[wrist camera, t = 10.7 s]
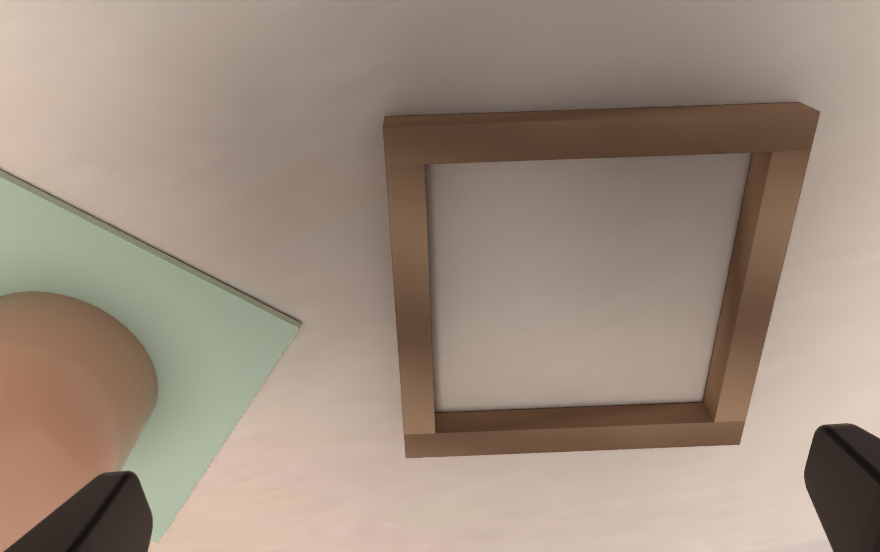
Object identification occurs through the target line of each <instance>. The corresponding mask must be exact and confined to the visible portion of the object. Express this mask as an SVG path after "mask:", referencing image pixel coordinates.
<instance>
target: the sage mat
mask: <svg viewBox="0 0 880 552" xmlns="http://www.w3.org/2000/svg"><path fill="white" fill-rule="evenodd" d="M30 291H36V292H49V293H56V294H62V295H65V296H69V297H73V298H76V299H79V300H81V301H84V302H87V303H89V304H91V305H93V306H95V307H97V308H99V309H101V310H103V311H105V312H106V313H108V314H109V315H111V316H113V317H114V318H115V319H117V320H118V321H119V322H121V323H122V324H123V325H124V326H125V327H127V328H128V329H129V330H130V331H131V332H132V333H133V334H134V335H135V337H136V338H137V339H138V340H139V341H140V343H141V344H142V345H143V347H144V348H145V350H146V351H147V353H148V354H149V356H150V359H151V361H152V363H153V365H154V368H155V372H156V375H157V382H158V396H157V401H156V405H155V408H154V410H153V413H152V415H151V416H150V418H149V420H148V422H147V424H146V426H145V427H144V429H143V431H142V433H141V435H140V437H139V439H138V440H137V442H136V444H135V446H134V448H133V450H132V451H131V453H130V455H129V457H128V459H127V461H126V463H125V464H124V466H123V468H122V470H121V471H132V472H134V473H135V474H136V475H137V476H138V478H139V480H140V483H141V485H142V488H143V491H144V493H145V496H146V499H147V501H148V504H149V507H150V509H151V512H152V517H153V530H152V535H151V539H150V540H151V541H154V542H157V543H158V542H159V541H160V539H161V538H162V536H163V535H164V533H165V532H166V530H167V529H168V527H169V526H170V524H171V523H172V521H173V520H174V518H175V517H176V515H177V513H178V512H179V510H180V509H181V507H182V506H183V504H184V503H185V501H186V500H187V498H188V497H189V495H190V494H191V492H192V491H193V489H194V488H195V486H196V485H197V483H198V482H199V480H200V479H201V477H202V476H203V474H204V473H205V471H206V470H207V468H208V467H209V465H210V464H211V462H212V460H213V459H214V457H215V456H216V454H217V453H218V451H219V450H220V448H221V447H222V445H223V444H224V442H225V441H226V439H227V438H228V436H229V435H230V433H231V432H232V430H233V429H234V427H235V426H236V424H237V423H238V421H239V420H240V418H241V417H242V415H243V414H244V412H245V411H246V409H247V407H248V406H249V404H250V403H251V401H252V400H253V398H254V397H255V395H256V394H257V392H258V391H259V389H260V388H261V386H262V385H263V383H264V382H265V380H266V379H267V377H268V376H269V374H270V373H271V371H272V370H273V368H274V367H275V365H276V364H277V362H278V361H279V359H280V358H281V356H282V354H283V353H284V351H285V350H286V348H287V347H288V345H289V344H290V342H291V341H292V339H293V338H294V336H295V335H296V333H297V332H298V330H299V329H300V326H301V323H300V322H298V321H296V320H294V319H292V318H290V317H288V316H286V315H284V314H282V313H280V312H278V311H276V310H274V309H272V308H270V307H269V306H267V305H265V304H263V303H261V302H259V301H257V300H255V299H253V298H251V297H249V296H247V295H245V294H243V293H241V292H239V291H237V290H235V289H233V288H231V287H229V286H227V285H225V284H223V283H221V282H219V281H217V280H216V279H214V278H212V277H210V276H208V275H206V274H204V273H202V272H200V271H198V270H196V269H194V268H192V267H190V266H188V265H186V264H184V263H182V262H180V261H178V260H176V259H174V258H172V257H170V256H168V255H166V254H164V253H162V252H161V251H159V250H157V249H155V248H153V247H151V246H149V245H147V244H145V243H143V242H141V241H139V240H137V239H135V238H133V237H131V236H129V235H127V234H125V233H123V232H121V231H119V230H117V229H115V228H113V227H111V226H109V225H107V224H106V223H104V222H102V221H100V220H98V219H96V218H94V217H92V216H90V215H88V214H86V213H84V212H82V211H80V210H78V209H76V208H74V207H72V206H70V205H68V204H66V203H64V202H62V201H60V200H58V199H56V198H54V197H53V196H51V195H49V194H47V193H45V192H43V191H41V190H39V189H37V188H35V187H33V186H31V185H29V184H27V183H25V182H23V181H21V180H19V179H17V178H15V177H13V176H11V175H9V174H7V173H5V172H3V171H1V170H0V296H3V295H6V294H11V293H17V292H30Z"/></svg>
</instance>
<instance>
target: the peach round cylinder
mask: <svg viewBox="0 0 880 552" xmlns="http://www.w3.org/2000/svg"><path fill="white" fill-rule="evenodd" d="M157 396H158V382H157V375H156V372H155V368H154V365H153V363H152V361H151V359H150V356H149V354H148V353H147V351H146V350H145V348H144V347H143V345H142V344H141V343H140V341H139V340H138V339H137V338H136V337H135V335H134V334H133V333H132V332H131V331H130V330H129V329H128V328H127V327H125V326H124V325H123V324H122V323H121V322H119V321H118V320H117V319H115V318H114V317H113V316H111V315H109V314H108V313H106V312H105V311H103V310H101V309H99V308H97V307H95V306H93V305H91V304H89V303H87V302H84V301H81V300H79V299H76V298H73V297H69V296H65V295H62V294H56V293H49V292H36V291H30V292H17V293H11V294H6V295H3V296H0V552H3V551H5V550H6V549H7V548H8V547H9V546H11V545H12V544H13V543H14V542H16V541H17V540H18V539H19V538H21V537H22V536H23V535H24V534H26V533H27V532H28V531H29V530H31V529H32V528H33V527H34V526H35V525H37V524H38V523H39V522H40V521H42V520H43V519H44V518H45V517H47V516H48V515H49V514H50V513H52V512H53V511H54V510H55V509H57V508H58V507H59V506H60V505H62V504H63V503H64V502H65V501H66V500H68V499H69V498H70V497H71V496H73V495H74V494H75V493H76V492H78V491H79V490H80V489H81V488H83V487H84V486H85V485H86V484H88V483H89V482H90V481H91V480H92V479H94V478H95V477H96V476H98V475H99V474H101V473H105V472H115V471H121V470H122V468H123V466H124V464H125V463H126V461H127V459H128V457H129V455H130V453H131V451H132V450H133V448H134V446H135V444H136V442H137V440H138V439H139V437H140V435H141V433H142V431H143V429H144V427H145V426H146V424H147V422H148V420H149V418H150V416H151V415H152V413H153V410H154V408H155V405H156V401H157Z"/></svg>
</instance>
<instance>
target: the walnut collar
mask: <svg viewBox="0 0 880 552" xmlns="http://www.w3.org/2000/svg"><path fill="white" fill-rule="evenodd" d="M819 114H820V112H819V111H817V110H815V109H813V108H811V107H809V106H807V105H805V104H803V103H801V102H791V103H762V104H734V105H705V106H676V107H647V108H618V109H589V110H561V111H532V112H503V113H474V114H445V115H417V116H388V117H385V118H384V124H383V135H384V150H385V164H386V179H387V194H388V208H389V223H390V237H391V252H392V266H393V281H394V295H395V310H396V324H397V339H398V353H399V368H400V382H401V397H402V411H403V426H404V440H405V455H406V458H421V457H446V456H471V455H495V454H520V453H545V452H569V451H594V450H618V449H643V448H668V447H692V446H717V445H740V441H741V437H742V432H743V428H744V424H745V420H746V416H747V412H748V408H749V404H750V399H751V395H752V391H753V387H754V383H755V379H756V375H757V371H758V366H759V362H760V358H761V354H762V350H763V346H764V342H765V337H766V333H767V329H768V325H769V321H770V317H771V313H772V309H773V304H774V300H775V296H776V292H777V288H778V284H779V280H780V275H781V271H782V267H783V263H784V259H785V255H786V251H787V247H788V242H789V238H790V234H791V230H792V226H793V222H794V218H795V214H796V209H797V205H798V201H799V197H800V193H801V189H802V185H803V180H804V176H805V172H806V168H807V164H808V160H809V156H810V152H811V147H812V143H813V139H814V135H815V131H816V127H817V123H818V119H819ZM752 152H753V154H752V159H751V164H750V169H749V174H748V179H747V184H746V189H745V194H744V199H743V204H742V209H741V214H740V219H739V224H738V229H737V234H736V239H735V244H734V249H733V254H732V259H731V264H730V269H729V274H728V279H727V284H726V289H725V294H724V299H723V304H722V309H721V314H720V319H719V324H718V329H717V334H716V339H715V344H714V349H713V354H712V359H711V364H710V369H709V374H708V379H707V384H706V389H705V394H704V399H703V402H700V403H675V404H650V405H625V406H599V407H574V408H549V409H524V410H499V411H474V412H449V413H435V410H434V385H433V360H432V334H431V309H430V284H429V259H428V234H427V209H426V184H425V164H442V163H470V162H499V161H527V160H555V159H583V158H611V157H639V156H667V155H696V154H724V153H752Z"/></svg>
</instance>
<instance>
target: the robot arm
mask: <svg viewBox="0 0 880 552" xmlns="http://www.w3.org/2000/svg"><path fill="white" fill-rule="evenodd" d="M804 479H805V485H806V488H807V491H808V493H809V496H810V498H811V500H812V503H813V505H814V507H815V510H816V512H817V514H818V517H819V519H820V521H821V524H822V526H823V529H824V531H825V533H826V536H827V538H828V540H829V543H830V545H831V547H832V549H833V552H880V438H878V437H876V436H874V435H873V434H871V433H869V432H867V431H865V430H864V429H862V428H860V427H858V426H856V425H854V424H848V423H844V424H828V425H822V426H820V427H818V428H817V430H816V431H815V433H814V437H813V440H812V444H811V448H810V451H809V455H808V459H807V462H806V466H805V471H804ZM152 530H153V517H152V512H151V509H150V507H149V504H148V501H147V499H146V496H145V493H144V491H143V488H142V485H141V483H140V480H139V478H138V476H137V475H136V474H135V473H134V472H132V471H115V472H105V473H101V474H99V475H98V476H96V477H95V478H94V479H92V480H91V481H90V482H89V483H88V484H86V485H85V486H84V487H83V488H81V489H80V490H79V491H78V492H76V493H75V494H74V495H73V496H71V497H70V498H69V499H68V500H66V501H65V502H64V503H63V504H62V505H60V506H59V507H58V508H57V509H55V510H54V511H53V512H52V513H50V514H49V515H48V516H47V517H45V518H44V519H43V520H42V521H40V522H39V523H38V524H37V525H35V526H34V527H33V528H32V529H31V530H29V531H28V532H27V533H26V534H24V535H23V536H22V537H21V538H19V539H18V540H17V541H16V542H14V543H13V544H12V545H11V546H9V547H8V548H7V549H6V550H5V551H3V552H148V548H149V544H150V539H151V535H152Z"/></svg>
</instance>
